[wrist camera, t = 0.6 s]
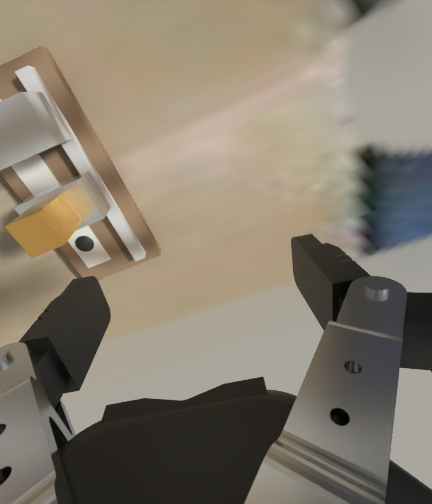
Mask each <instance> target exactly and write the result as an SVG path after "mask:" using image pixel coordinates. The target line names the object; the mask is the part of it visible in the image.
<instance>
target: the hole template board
mask: <svg viewBox="0 0 432 504" xmlns="http://www.w3.org/2000/svg"><path fill="white" fill-rule="evenodd" d="M87 171H89V172H90V173H91V175H92V177H93V178H94V180H95V181H96V183H97V185H98V186H99V188H100V190H101V191H102V193H103V194H104V196H105V198H106V199H107V201H108V203H109V204H110V206H111V208H110V210H109V212H108V213H107V215H106V216H105V218H104V219H102V220H100V221H98V222H95V223H93V224H90V225H88V226H86V227H83V228H81V229H78V230H76V231H75V232H74V233H73V234H72V236H71V237H70V238H69V240H68V241H67V242H66V244H65V245H62V246H60V247H59V249H60V250H61V251H62V253H63V254H64V255H65V256H66V258H67V259H68V260H69V261H70V263H71V264H72V265H73V266H74V268H75V269H76V270H77V272H78V273H79V274H80V275H81V277H82V278H83V277H88V276H95V277H96V279H97V280H99V279H102V278H104V277H107V276H109V275H112V274H114V273H117V272H119V271H122V270H124V269H127V268H129V267H132V266H134V265H137V264H139V263H142V262H144V261H147V260H149V259H152V258H154V257H157V256H159V255H160V254H161V248H160V247H159V245H158V243H157V241H156V239H155V238H154V236H153V234H152V232H151V231H150V229H149V227H148V225H147V224H146V222H145V220H144V218H143V216H142V215H141V213H140V211H139V209H138V208H137V206H136V204H135V202H134V200H133V199H132V197H131V195H130V193H129V192H128V190H127V188H126V186H125V185H124V183H123V181H122V179H121V177H120V176H119V174H118V172H117V170H116V169H115V167H114V165H113V163H112V162H111V160H110V158H109V156H108V154H107V153H106V151H105V149H104V147H103V146H102V144H101V142H100V140H99V139H98V137H97V135H96V133H95V131H94V130H93V128H92V126H91V124H90V123H89V121H88V119H87V117H86V116H85V114H84V112H83V110H82V108H81V107H80V105H79V103H78V101H77V100H76V98H75V96H74V94H73V93H72V91H71V89H70V87H69V85H68V84H67V82H66V80H65V78H64V77H63V75H62V73H61V71H60V69H59V68H58V66H57V64H56V62H55V61H54V59H53V57H52V55H51V54H50V52H49V50H48V49H46V48H44V47H39V48H36V49H34V50H32V51H30V52H28V53H26V54H24V55H22V56H20V57H18V58H16V59H14V60H12V61H9V62H7V63H5V64H3V65H1V66H0V174H1V175H2V176H3V178H4V179H5V180H6V182H7V183H8V184H9V185H10V187H11V188H12V189H13V190H14V192H15V193H16V194H17V195H18V197H19V198H20V199H21V201H24V200H25V199H27V198H28V197H30V196H32V195H34V194H36V193H39V192H41V191H43V190H46V189H48V188H50V187H52V186H55V185H57V184H59V183H62V182H64V181H66V180H69V179H71V178H73V177H75V176H78V175H80V174H82V173H85V172H87Z"/></svg>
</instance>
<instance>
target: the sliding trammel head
mask: <svg viewBox="0 0 432 504" xmlns="http://www.w3.org/2000/svg"><path fill="white" fill-rule="evenodd" d="M13 208H14V209H15V211H16V212H17V213H18V214H19V216H18V217H17V218H15V219H14V220H13V221H11V222H10V223H9V224H7V225H6V226H5V228H6V229H7V231H8V232H9V233H10V234H11V235H12V236H13V237H14V239H15V240H16V241H17V242H18V243H19V244H20V245H21V247H22V248H23V249H24V250H25V251H26V252H27V254H28V255H29V256H30V257H31V258H33V257H36V256H38V255H41V254H43V253H46V252H48V251H50V250H53V249H55V248H58V247H60V246H62V245H65V244H66V242H67V241H68V240H69V238H70V237H71V236H72V234H73V233H74V232H75V231H76V230H78V229H81V228H83V227H86V226H88V225H90V224H93V223H95V222H98V221H100V220H102V219H104V218H105V216H106V215H107V213H108V212H109V210H110V208H111V206H110V204H109V203H108V201H107V199H106V198H105V196H104V194H103V193H102V191H101V190H100V188H99V186H98V185H97V183H96V181H95V180H94V178H93V177H92V175H91V173H90V172H89V171H87V172H85V173H82V174H80V175H78V176H75V177H73V178H71V179H69V180H66V181H64V182H62V183H59V184H57V185H55V186H52V187H50V188H48V189H46V190H43V191H41V192H39V193H36V194H34V195H32V196H30V197H28V198H27V199H25V200H24V201H22V202H21V203H19V204H18V205H16V206H15V207H13Z"/></svg>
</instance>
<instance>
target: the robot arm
mask: <svg viewBox="0 0 432 504" xmlns="http://www.w3.org/2000/svg"><path fill="white" fill-rule="evenodd" d="M291 248H292V261H293V274H294V279H295V282H296V285H297V287H298V289H299V290H300V292H301V294H302V295H303V297H304V299H305V300H306V302H307V304H308V305H309V307H310V308H311V310H312V312H313V314H314V315H315V317H316V318H317V320H318V322H319V323H320V325H321V327H322V328H323V330H324V333H323V335H322V338H321V340H320V343H319V345H318V347H317V350H316V352H315V355H314V357H313V359H312V362H311V364H310V366H309V369H308V371H307V374H306V376H305V378H304V381H303V383H302V386H301V388H300V390H299V393H298V395H297V396H295V395H292V394H289V393H286V392H281V391H276V390H266V386H265V382H264V378H263V377H259V378H254V379H248V380H242V381H237V382H232V383H226V384H223V385H220V386H218V387H216V388H213V389H211V390H208V391H207V392H204V393H202V394H199V395H197V396H194V397H192V398H190V399H187V400H183V401H177V400H163V399H148V398H143V399H138V400H133V401H127V402H121V403H116V404H110V405H106V409H105V411H104V414H103V418H102V420H101V421H99V422H97V423H95V424H93V425H91V426H89V427H88V428H86V429H85V430H83V431H81V432H80V433H78V434H77V435H76V434H75V432H74V429H73V426H72V424H71V421H70V419H69V416H68V413H67V411H66V408H65V406H64V404H63V403H62V401H61V397H62V395H63V393H68V392H74V391H79V390H80V388H81V386H82V384H83V381H84V379H85V377H86V374H87V372H88V370H89V368H90V365H91V363H92V361H93V359H94V356H95V354H96V351H97V349H98V347H99V345H100V343H101V340H102V338H103V336H104V334H105V331H106V329H107V327H108V325H109V322H110V316H111V315H110V308H109V305H108V303H107V301H106V298H105V296H104V294H103V291H102V289H101V287H100V285H99V282H98V280H97V279H96V277H95V276H88V277H83V278H78V279H73V280H72V281H71V283H70V284H69V285H68V286H67V288H66V289H65V290H64V291H63V293H62V294H61V295H60V296H58V297H57V298H56V299H54V300H53V301H52V302H51V303H50V304H49V305H48V306H47V308H46V309H45V310H44V313H42V314H41V315H40V316H39V317H38V320H36V321H35V322H34V324H33V325H32V326H31V327H30V328H29V330H28V331H27V332H26V333H25V335H24V336H23V337H22V338H21V340H20V341H19V342H16V343H11V344H8V345H5V346H3V347H1V348H0V504H432V489H430V488H428V487H427V486H426V485H425V484H423V483H422V482H420V481H419V480H418V479H416V478H415V477H413V476H412V475H411V474H409V473H408V472H407V471H405V470H404V469H402V468H401V467H400V466H398V465H397V464H395V463H394V462H393V461H391V460H390V451H391V442H392V433H393V423H394V414H395V405H396V396H397V387H398V378H399V368H410V369H422V370H431V372H432V293H412V292H407V291H406V289H405V288H404V286H403V285H401V284H400V283H398V282H396V281H394V280H391V279H389V278H385V277H378V276H370V275H369V274H368V273H367V272H366V271H365V270H364V269H362V268H361V267H360V266H359V265H358V264H357V263H356V262H355V261H352V259H351V258H350V257H349V256H348V255H346V253H344V252H343V251H342V250H341V249H340V248H339V247H336V246H334V245H331V244H329V243H325V244H322V243H321V242H320V241H319V240H317V239H316V238H315V237H314V236H313V235H312V234H308V235H303V236H297V237H292V240H291Z"/></svg>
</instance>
